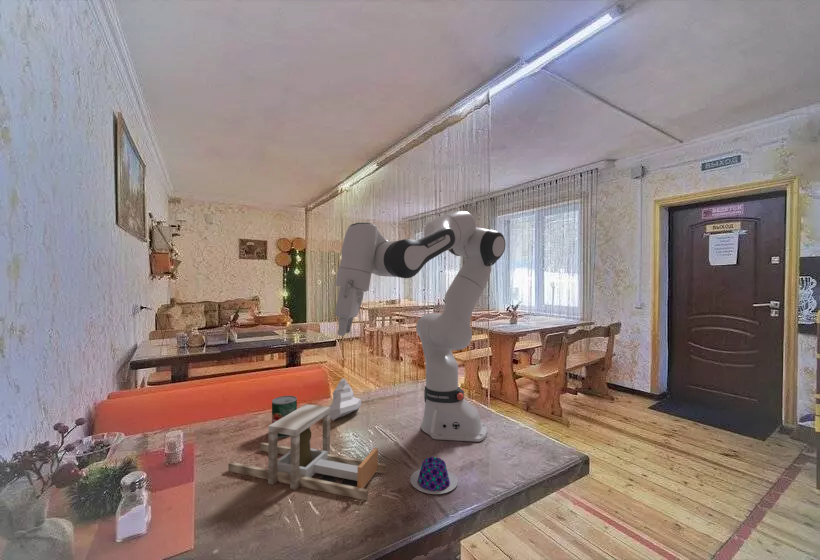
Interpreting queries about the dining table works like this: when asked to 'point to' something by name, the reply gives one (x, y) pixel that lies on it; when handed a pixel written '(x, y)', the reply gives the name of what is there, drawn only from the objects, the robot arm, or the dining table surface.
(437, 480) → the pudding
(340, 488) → the tunnel track
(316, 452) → the sled fence
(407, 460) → the dining table surface
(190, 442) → the dining table surface
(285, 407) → the canned tomato
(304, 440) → the olive rounded cylinder
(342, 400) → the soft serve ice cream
